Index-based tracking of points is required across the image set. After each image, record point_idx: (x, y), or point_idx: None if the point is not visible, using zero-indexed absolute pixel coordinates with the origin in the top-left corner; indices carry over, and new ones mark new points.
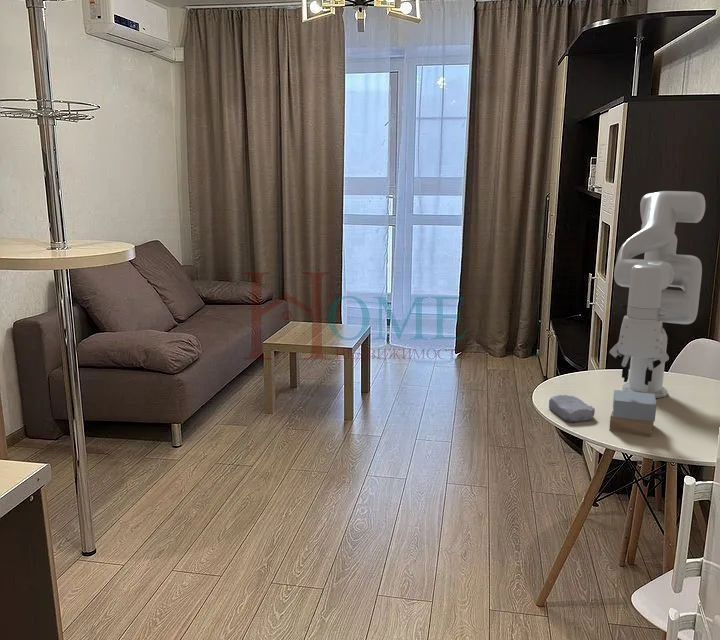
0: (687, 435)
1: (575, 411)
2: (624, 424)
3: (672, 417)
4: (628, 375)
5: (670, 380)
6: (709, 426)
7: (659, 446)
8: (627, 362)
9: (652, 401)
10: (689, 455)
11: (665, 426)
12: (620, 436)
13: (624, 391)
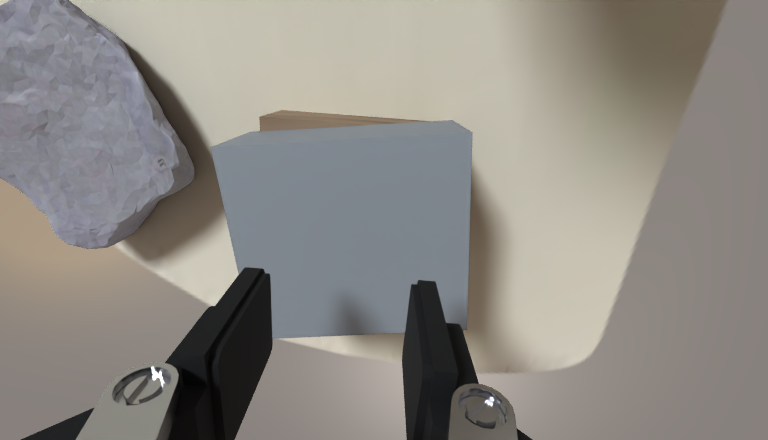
0: (572, 183)
1: (113, 234)
2: None
3: None
4: (259, 286)
5: None
6: (706, 21)
7: None
8: (176, 426)
9: (449, 283)
10: (539, 354)
11: (499, 109)
12: None
13: (278, 157)
